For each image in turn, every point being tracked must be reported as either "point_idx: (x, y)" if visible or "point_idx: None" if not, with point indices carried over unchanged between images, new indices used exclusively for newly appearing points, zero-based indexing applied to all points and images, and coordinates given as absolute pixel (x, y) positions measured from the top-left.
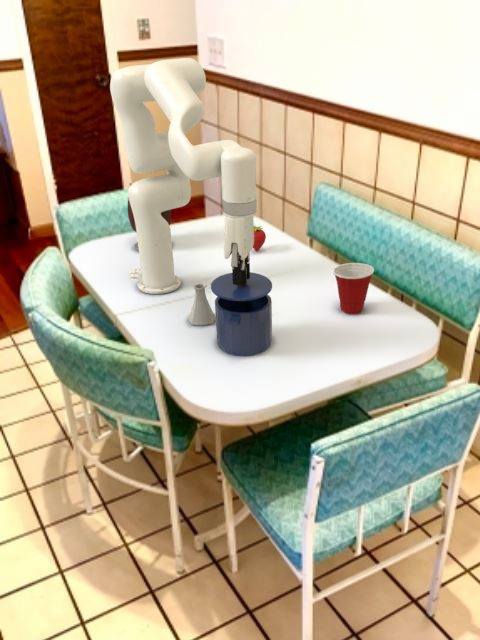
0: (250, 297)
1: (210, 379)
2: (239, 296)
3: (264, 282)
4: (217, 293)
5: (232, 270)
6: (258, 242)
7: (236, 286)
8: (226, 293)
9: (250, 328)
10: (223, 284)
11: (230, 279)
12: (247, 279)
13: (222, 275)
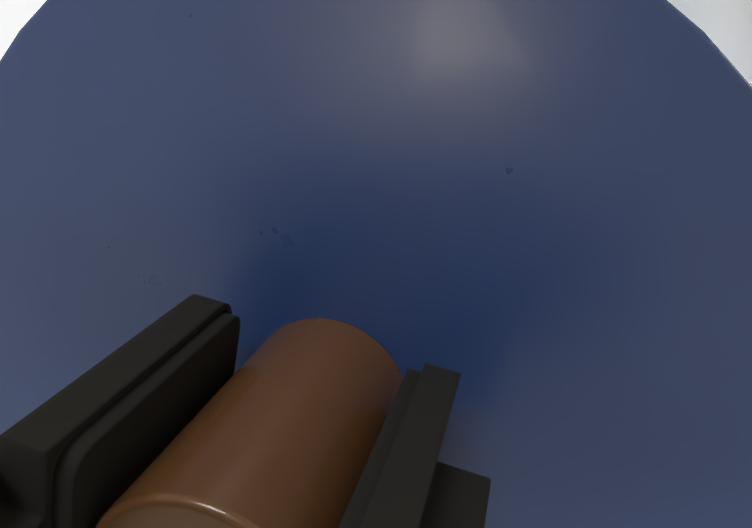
0: None
1: (25, 3)
2: (7, 343)
3: None
4: (21, 43)
5: (25, 418)
6: None
7: (269, 319)
8: (47, 179)
9: None
10: (321, 120)
11: (520, 232)
12: (505, 483)
13: (716, 77)
